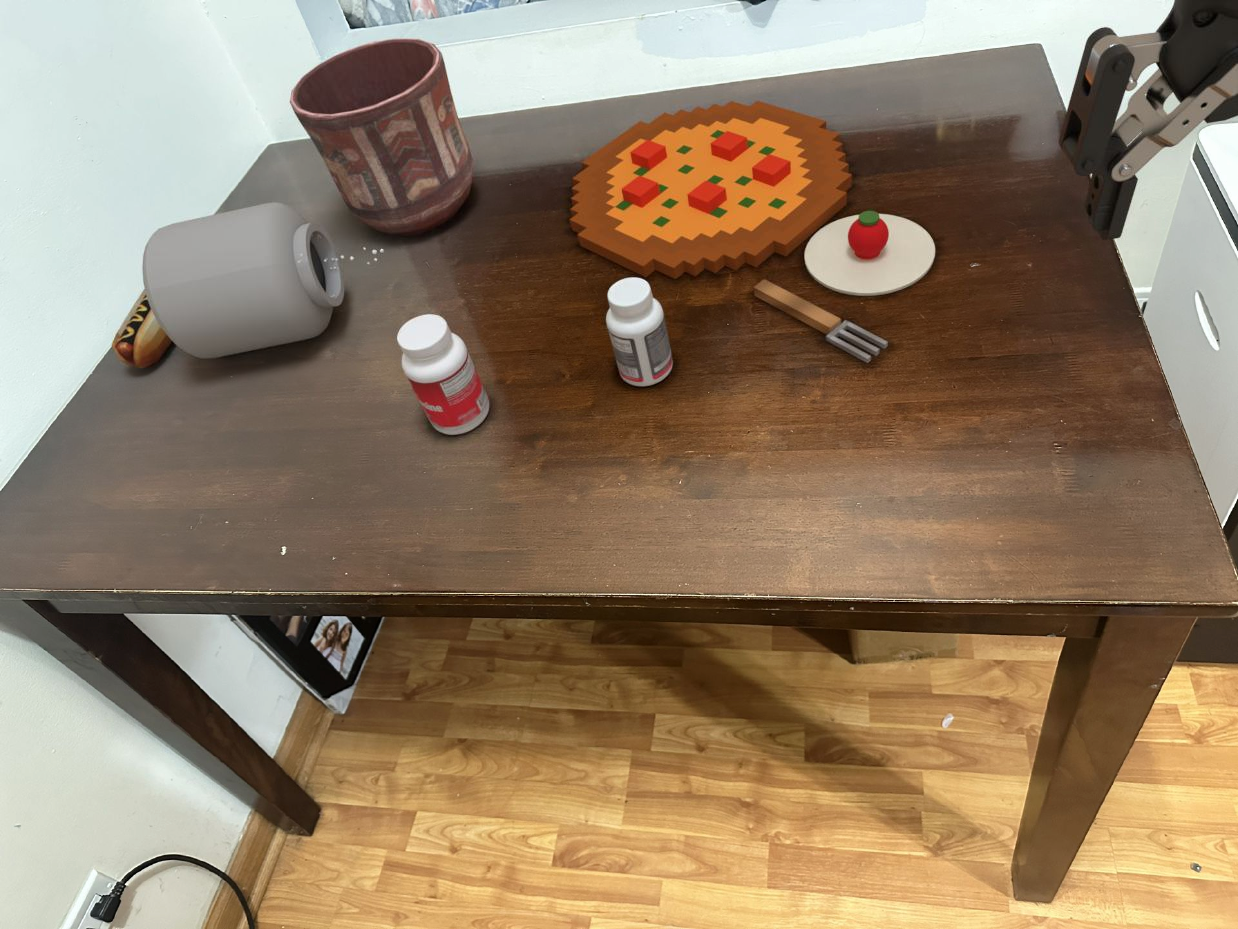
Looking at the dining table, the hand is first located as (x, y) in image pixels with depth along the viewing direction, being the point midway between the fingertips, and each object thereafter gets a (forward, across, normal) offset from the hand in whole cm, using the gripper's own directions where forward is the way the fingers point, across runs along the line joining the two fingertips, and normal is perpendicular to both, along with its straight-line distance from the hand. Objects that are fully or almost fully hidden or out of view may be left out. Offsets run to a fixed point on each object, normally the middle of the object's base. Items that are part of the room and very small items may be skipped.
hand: (1192, 217), depth 45 cm
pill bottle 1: (+28, -52, +20) cm, 62 cm away
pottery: (+27, -62, +58) cm, 89 cm away
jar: (+27, -72, +39) cm, 87 cm away
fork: (+27, -16, +26) cm, 41 cm away
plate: (+28, -9, +36) cm, 46 cm away
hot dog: (+27, -91, +39) cm, 103 cm away
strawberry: (+27, -9, +36) cm, 46 cm away
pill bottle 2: (+28, -33, +23) cm, 49 cm away
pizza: (+28, -25, +52) cm, 64 cm away
